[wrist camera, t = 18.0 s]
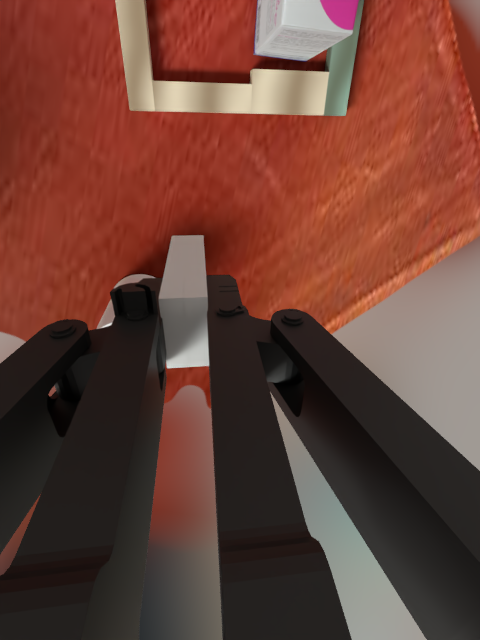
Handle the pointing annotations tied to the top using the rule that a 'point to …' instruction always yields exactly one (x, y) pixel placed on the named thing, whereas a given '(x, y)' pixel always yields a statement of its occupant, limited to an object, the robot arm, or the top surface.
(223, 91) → the cream and green frame
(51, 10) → the top surface
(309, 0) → the supplement box
